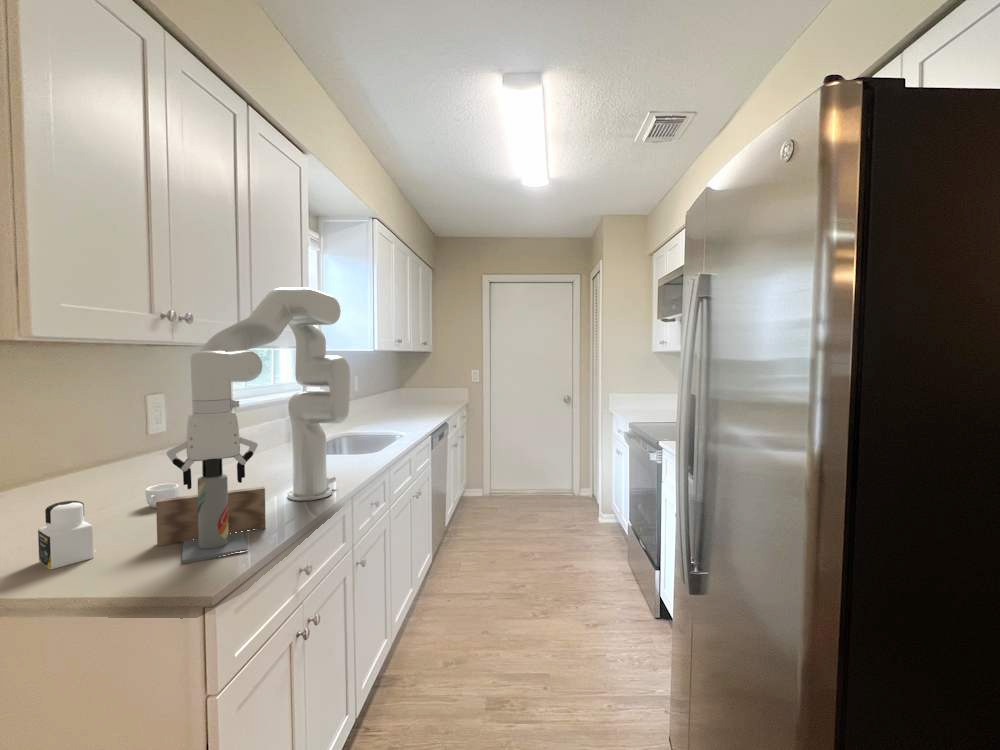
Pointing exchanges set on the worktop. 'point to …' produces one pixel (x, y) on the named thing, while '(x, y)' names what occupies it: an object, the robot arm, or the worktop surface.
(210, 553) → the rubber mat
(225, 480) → the lotion bottle
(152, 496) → the teacup
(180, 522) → the brown wooden board
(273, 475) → the worktop surface
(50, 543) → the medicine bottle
